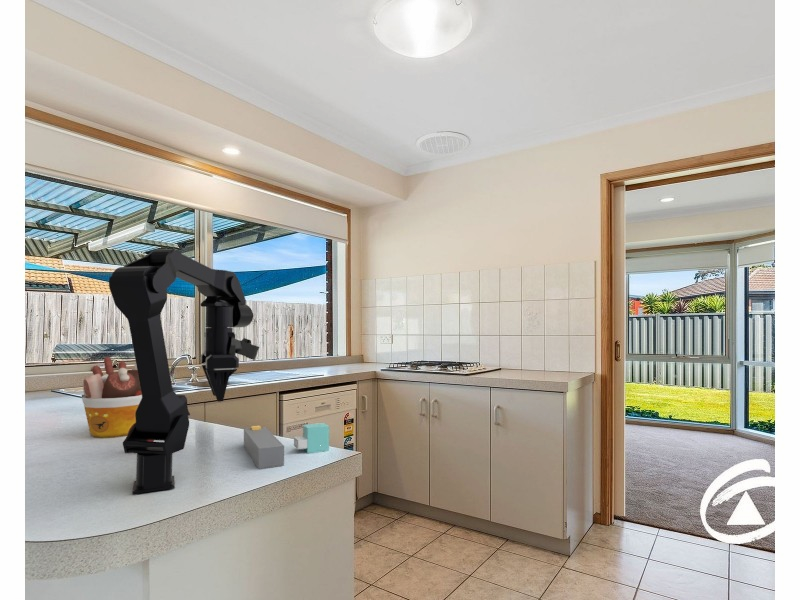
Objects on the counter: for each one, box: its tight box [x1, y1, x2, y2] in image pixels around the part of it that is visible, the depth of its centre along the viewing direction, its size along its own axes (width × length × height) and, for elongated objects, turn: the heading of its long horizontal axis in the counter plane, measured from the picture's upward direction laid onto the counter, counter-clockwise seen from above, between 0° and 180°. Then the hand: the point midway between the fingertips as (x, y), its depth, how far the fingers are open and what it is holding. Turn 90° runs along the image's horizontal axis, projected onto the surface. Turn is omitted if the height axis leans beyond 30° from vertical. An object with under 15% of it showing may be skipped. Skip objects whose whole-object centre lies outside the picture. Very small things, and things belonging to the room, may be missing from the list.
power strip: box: [243, 425, 285, 470], centre depth 106 cm, size 24×5×5 cm, turn 27°
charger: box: [293, 422, 330, 454], centre depth 108 cm, size 4×7×6 cm, turn 117°
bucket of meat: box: [81, 356, 142, 439], centre depth 127 cm, size 20×16×20 cm
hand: (218, 398), depth 104 cm, fingers open, 9 cm apart
